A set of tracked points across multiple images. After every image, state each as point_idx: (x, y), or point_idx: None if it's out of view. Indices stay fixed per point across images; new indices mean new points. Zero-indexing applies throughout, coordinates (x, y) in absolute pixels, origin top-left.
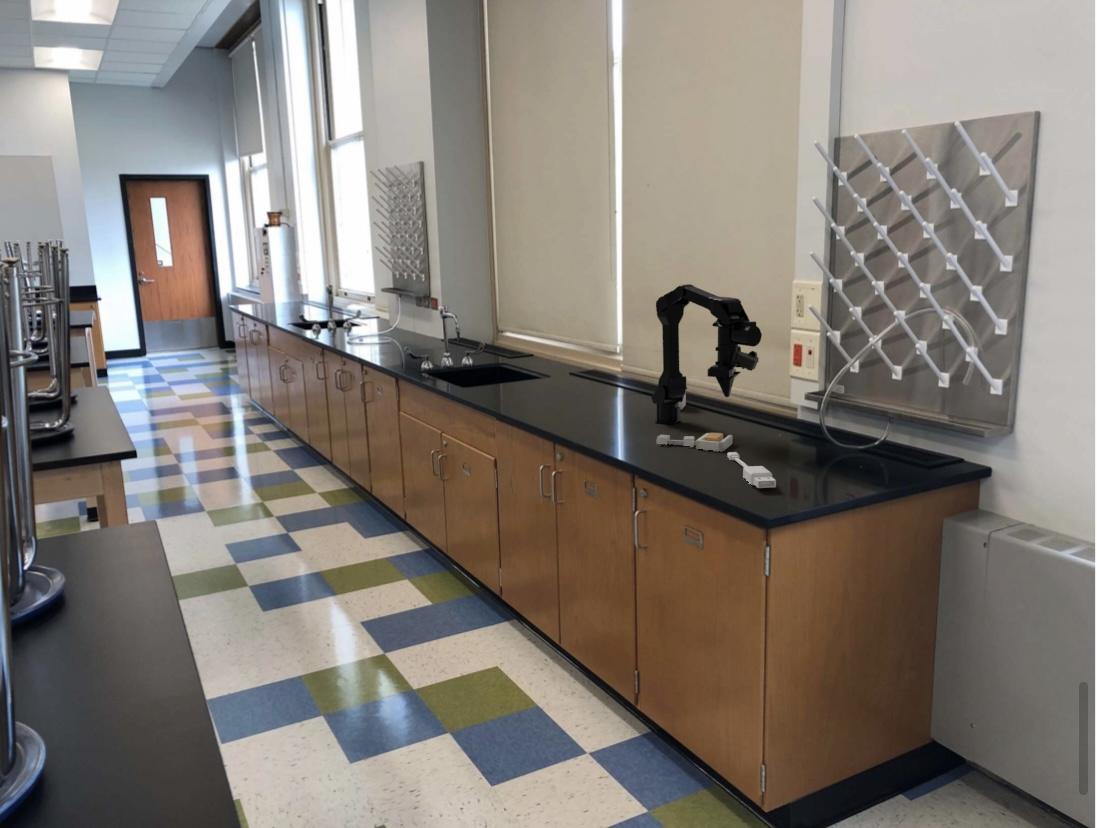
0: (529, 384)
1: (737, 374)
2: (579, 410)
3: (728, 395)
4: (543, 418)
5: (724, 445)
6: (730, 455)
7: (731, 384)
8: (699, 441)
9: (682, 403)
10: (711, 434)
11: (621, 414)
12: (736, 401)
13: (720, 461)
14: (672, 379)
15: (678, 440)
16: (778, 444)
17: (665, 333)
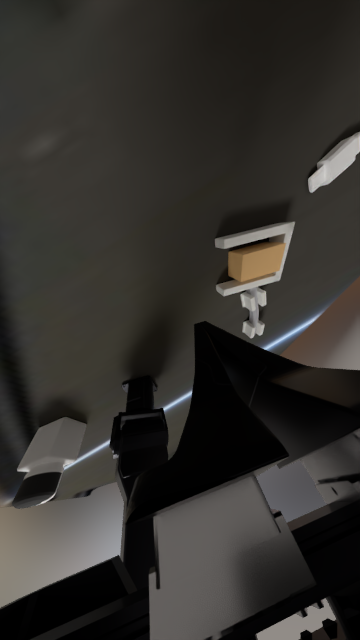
0: (111, 479)
1: (269, 431)
2: None
3: (209, 323)
4: None
5: (273, 225)
6: (352, 162)
7: (219, 358)
8: (280, 273)
9: (58, 426)
10: (256, 271)
11: None
12: None
13: (345, 185)
14: (164, 462)
15: (255, 312)
16: (161, 74)
17: None
